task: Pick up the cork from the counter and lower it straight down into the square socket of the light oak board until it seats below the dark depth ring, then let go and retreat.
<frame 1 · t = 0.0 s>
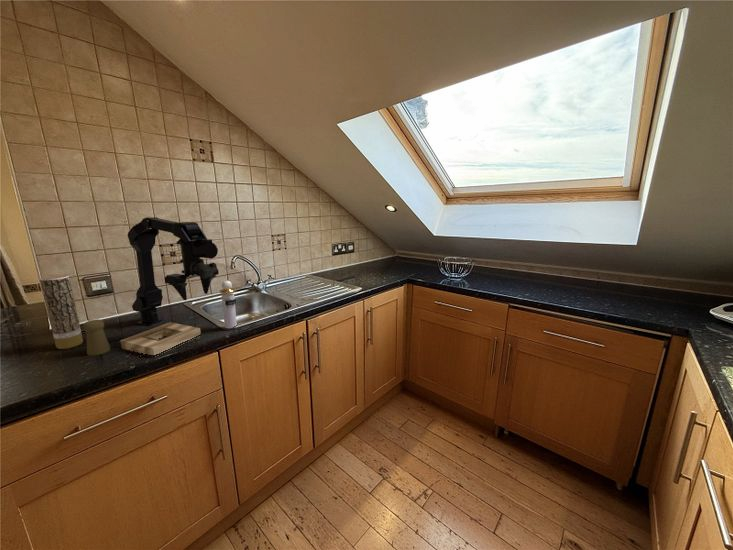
hand: (196, 296, 113), 15 cm above the worktop, tool pointing down, fingers open, 9 cm apart
grey bark cylinder: (70, 346, 104), on the worktop
cork: (99, 351, 100), on the worktop
perfume bottle: (231, 328, 121), on the worktop
socket board: (163, 341, 108), on the worktop
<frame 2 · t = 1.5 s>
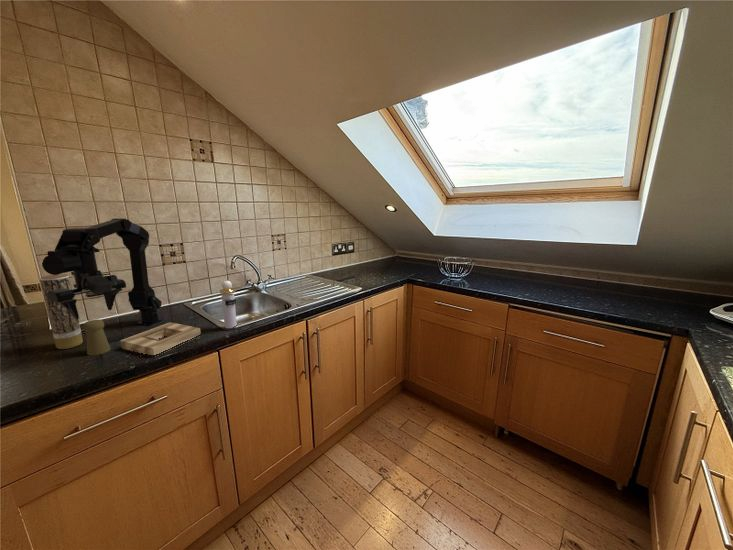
hand: (94, 314, 98), 13 cm above the worktop, tool pointing down, fingers open, 9 cm apart
nothing on the worktop moved.
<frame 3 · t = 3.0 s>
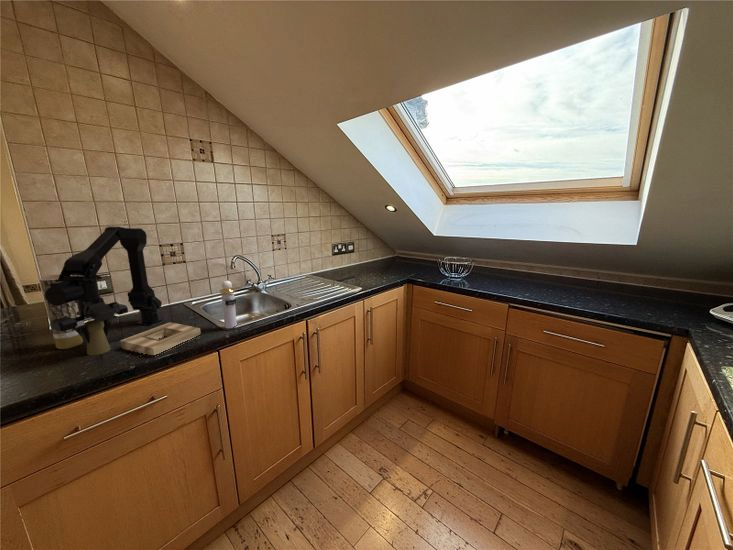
hand: (96, 340, 99), 4 cm above the worktop, tool pointing down, fingers closed on cork, 4 cm apart
cork: (99, 351, 100), on the worktop, touching gripper
everything else where it was.
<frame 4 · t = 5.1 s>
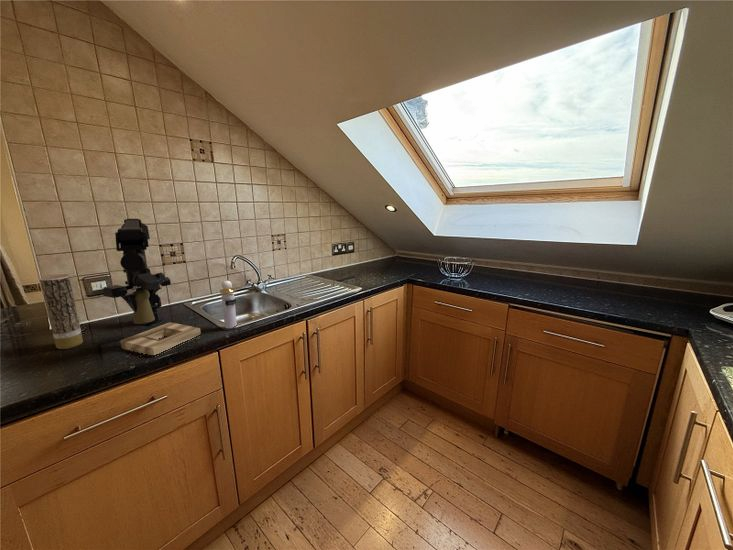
hand: (142, 309, 103), 13 cm above the worktop, tool pointing down, fingers closed on cork, 4 cm apart
cork: (144, 321, 104), point 9 cm above the worktop, touching gripper
everything else where it was.
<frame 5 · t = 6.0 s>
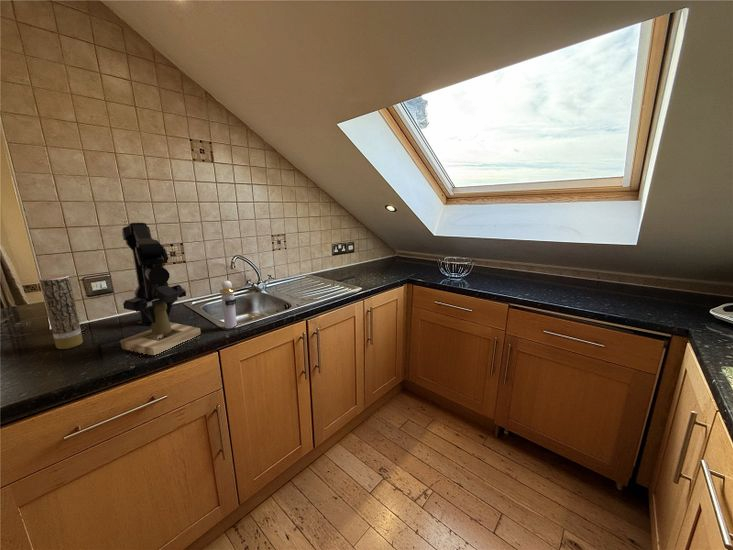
hand: (160, 320, 106), 8 cm above the worktop, tool pointing down, fingers closed on cork, 4 cm apart
cork: (161, 331, 107), point 4 cm above the worktop, touching gripper
everything else where it was.
when the fingers open (5 cm above the worktop, at t = 7.0 s): cork stays where it is, resting in socket board.
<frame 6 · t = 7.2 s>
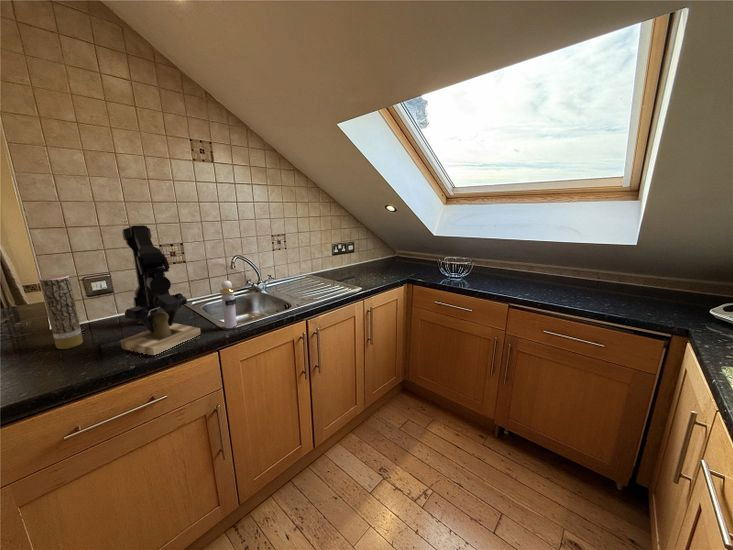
hand: (161, 328, 107), 5 cm above the worktop, tool pointing down, fingers open, 6 cm apart
cork: (163, 342, 108), resting in socket board
everything else where it was.
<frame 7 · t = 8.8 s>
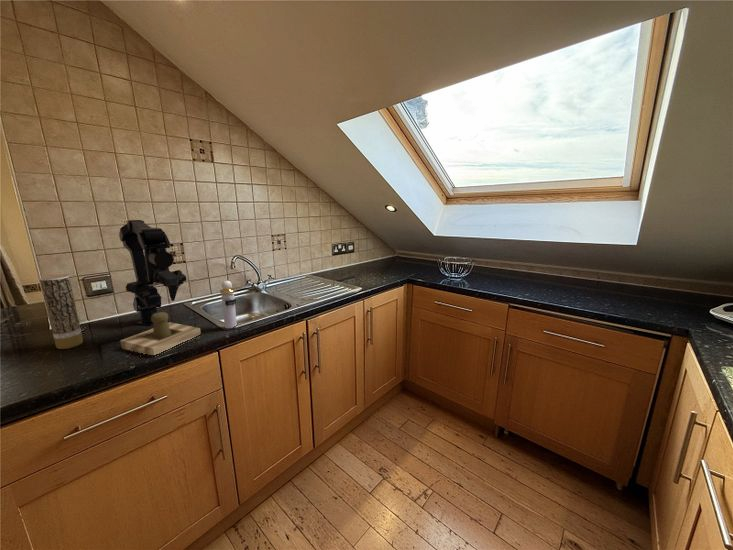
hand: (161, 304, 111), 13 cm above the worktop, tool pointing down, fingers open, 9 cm apart
nothing on the worktop moved.
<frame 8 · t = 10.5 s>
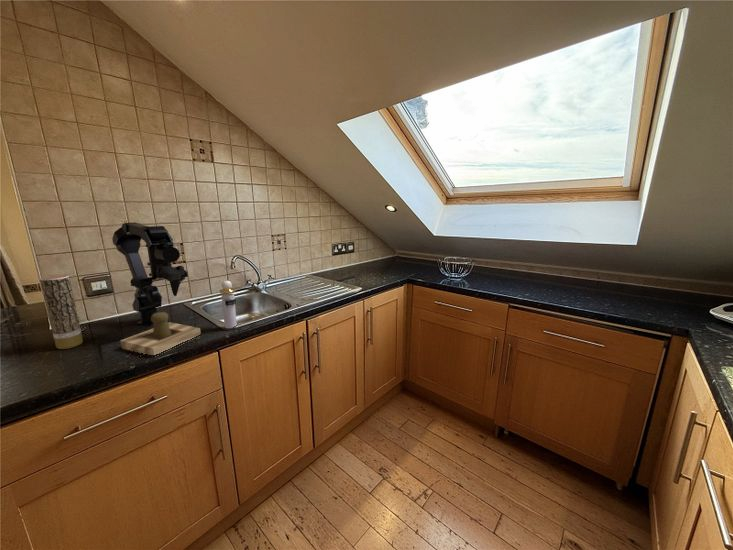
hand: (164, 299, 115), 13 cm above the worktop, tool pointing down, fingers open, 9 cm apart
nothing on the worktop moved.
at the end: cork 0.1 cm off-centre on the socket board, point 0.0 cm above the socket board's base; cork tilted 0°; the gripper is holding nothing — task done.
